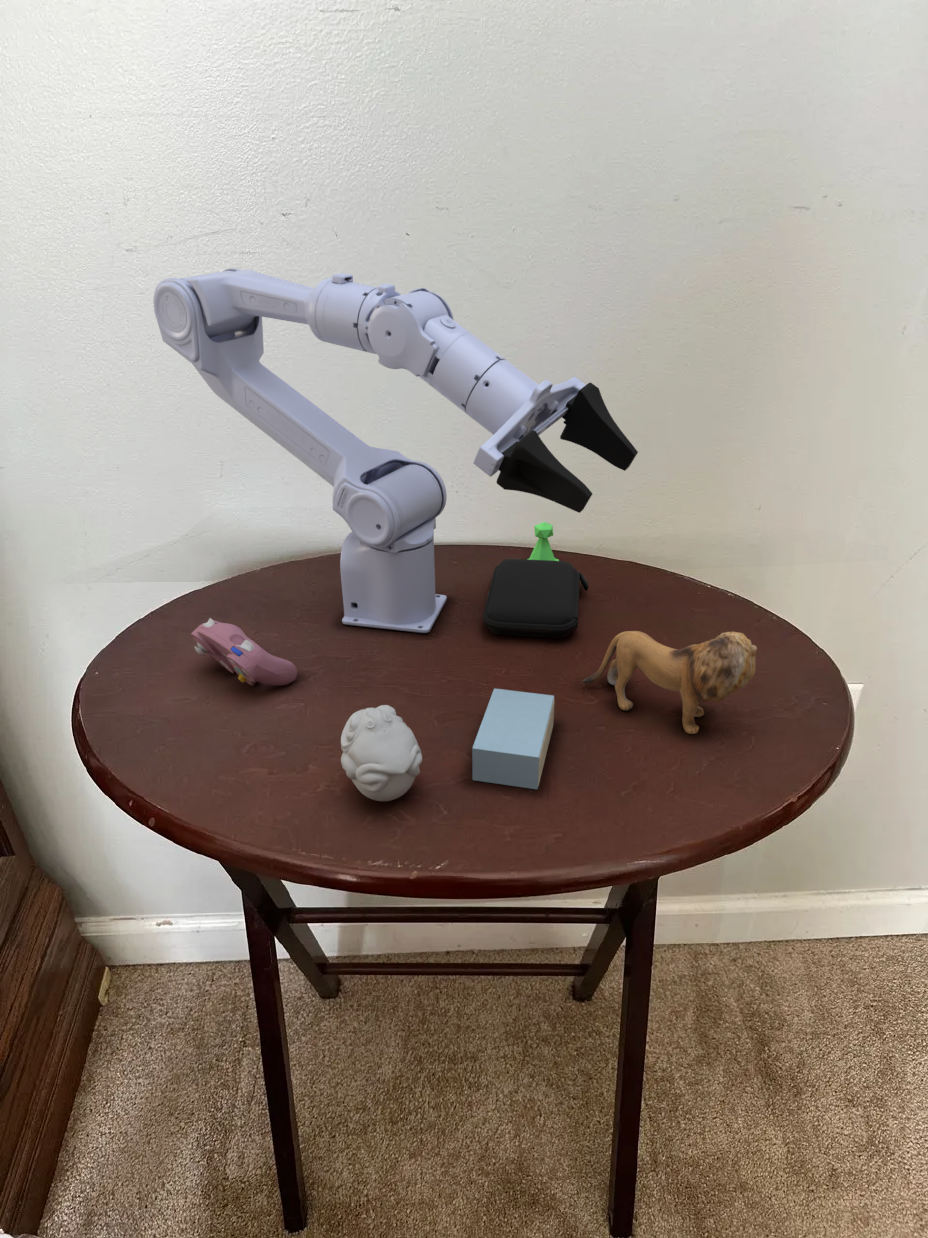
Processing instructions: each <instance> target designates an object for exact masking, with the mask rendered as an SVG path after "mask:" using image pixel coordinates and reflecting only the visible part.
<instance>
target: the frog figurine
mask: <svg viewBox="0 0 928 1238" xmlns="http://www.w3.org/2000/svg"><path fill="white" fill-rule="evenodd" d="M340 749H341V751H342V753H341V757H340V763H341V767H342V769H343V770H344V771H345V775H346V776H347V778H349V779H351V781H352V783H353V784H354V786H355V787H356V789H357V790H358V791H359V792H360V793H361V794H362V795H363V796H364V797H366V798H368V799H370V800H372V801H376V802H390V801H393V800H394V801H395V800H397V799H398V798H401V797H402V796H403V795H405V794H406V793H407V792H408V791H409V790H410V788H411V787H412V785H413V783H414V782H415V779H416V777H418V776H419V775H420V773H421V771H420V765H421V764H422V763H423V754H422V749H421V748H420V746H419V744H418V741H417V739H416V737H415V734H414V732H413V731H412V729H411V728H410V727H409V726H408V725H407V722H405V721H404V719H403V718H402V716H398V715H397V712H396V709H395V708H394V707H392V706H391V705H389V704H381V705H379V706H377V707H366V708H363V709H359V710H357V711H355V712H354V713H352V714H351V716H350V717H348V719H347V721H346V723H345V725H344V727H343V730H342V732H341V737H340Z"/></svg>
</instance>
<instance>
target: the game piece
mask: <svg viewBox="0 0 928 1238" xmlns="http://www.w3.org/2000/svg"><path fill="white" fill-rule="evenodd" d="M533 528H534V537H536V538H538V539H537V541H536V543H535V545H534V548H533V550H532V552H531V554H530V556H529V558H527V559H528V560H549V561H560V559H558V558H556V557H555V555H554V553H553V550H552V547H551V544H550V540H549V538H550V537H553V536H554V526H553V524H551V523H548V522H546V521H542V522H541V523H538V524H536V525H534V527H533Z"/></svg>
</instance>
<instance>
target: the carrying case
mask: <svg viewBox="0 0 928 1238" xmlns="http://www.w3.org/2000/svg"><path fill="white" fill-rule="evenodd" d="M528 559H529V558H527V559H525V558H506V559H503V560H501V561H500V562H499V563H498V564H497V565H496V566H495V567H494V569H493V572H492V577H491V580H490V585H489V589H488V594H487V597H486V601H485V604H484V605H485V606H484V611H483V615H482V622H483V624H484V626H485V627H486V628H487V629H488V630H489V631H490V632H492V633H493V634H495V635H502V636H516V637H517V636H519V637H535V638H551V639H560V638H566V637H567V636H568V635H570V633H572V632H573V631H574V630H575V629H577V628H578V626H579V605H580V604H579V601H580V599H579V598H580V584H581V585H582V588H583V590H584V591H585V592H588V591H589V582H588V580H587V579H586V577H585V575H584V574H583V573H582V572H580V571H578V570H577V569H576V568H575V567H574V566H573V565H572V564H571V563H570V562H567V561H564V560H559V561H549V560H528Z"/></svg>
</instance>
